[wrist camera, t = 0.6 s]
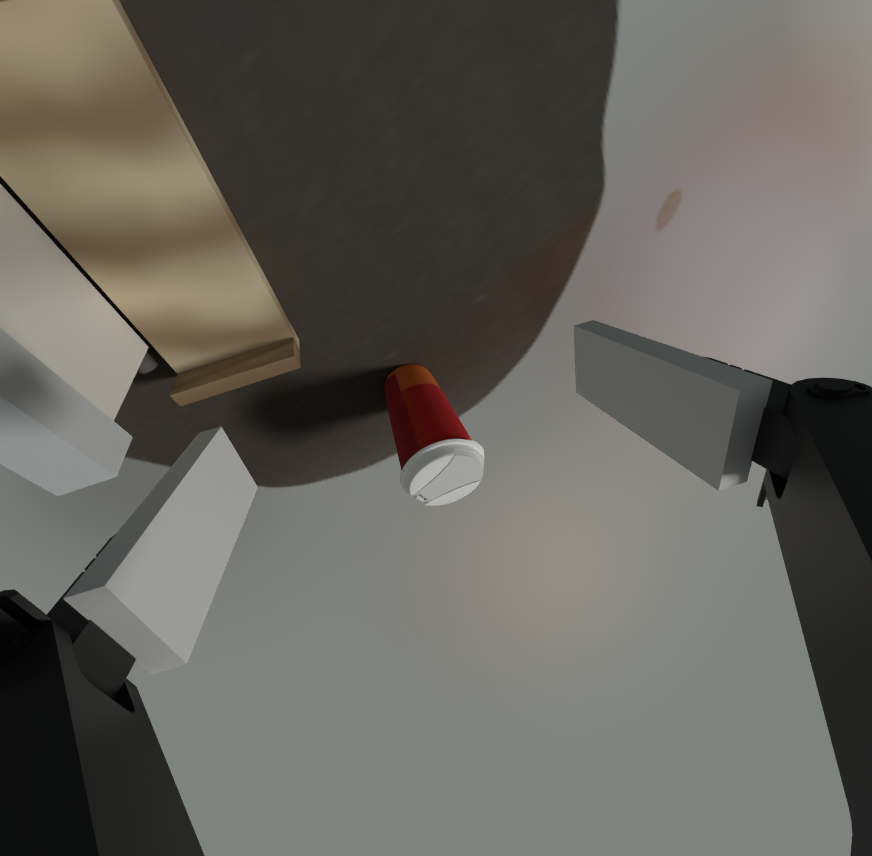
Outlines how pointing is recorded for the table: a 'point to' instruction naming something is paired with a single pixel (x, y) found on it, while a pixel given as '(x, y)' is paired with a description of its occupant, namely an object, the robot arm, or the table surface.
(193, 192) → the cart bed
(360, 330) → the table surface
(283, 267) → the table surface
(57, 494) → the tailgate
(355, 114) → the table surface
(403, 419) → the paper cup
